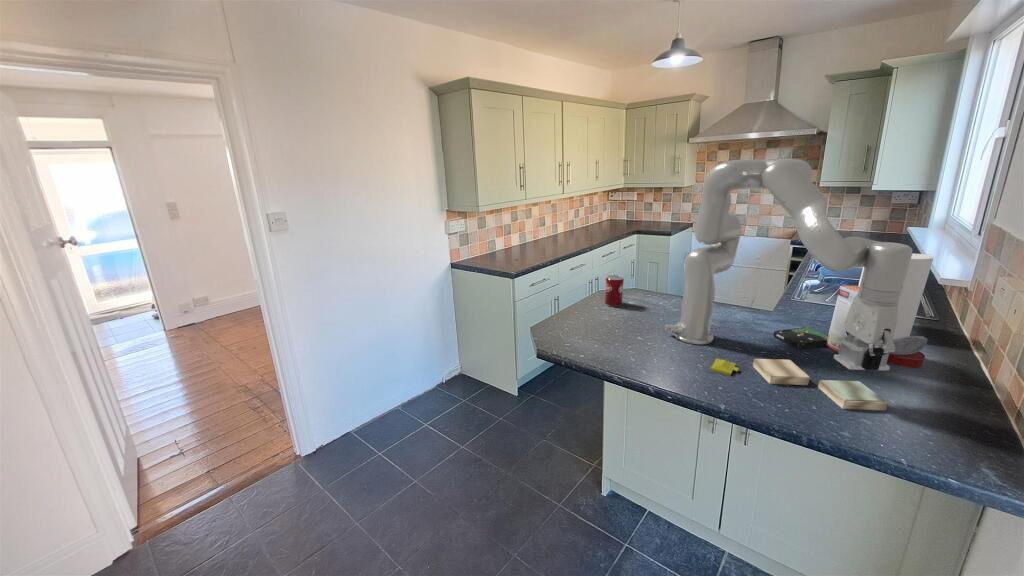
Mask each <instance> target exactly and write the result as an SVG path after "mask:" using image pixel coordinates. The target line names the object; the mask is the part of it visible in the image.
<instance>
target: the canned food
mask: <svg viewBox="0 0 1024 576" xmlns="http://www.w3.org/2000/svg"><path fill="white" fill-rule="evenodd" d="M892 340H893V343H894V345H895V351H894V352H890V353H889V356H888V360H887V363H890V364H892V365H896V366H900V367H903V368H911V369H916V368H921V367H923V365H924V361H925V358H926V355H925V354H924V353H922V352H921V351H922V350H924V348H925V347H926V345H927V343H928V338H926V337H925V336H922V335H921V336H920V335H918V336H917V335H911V336H909V337H902V338H897V339H892Z"/></svg>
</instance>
